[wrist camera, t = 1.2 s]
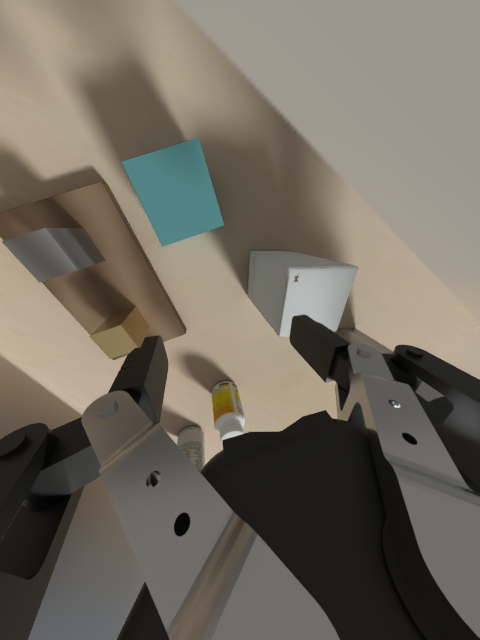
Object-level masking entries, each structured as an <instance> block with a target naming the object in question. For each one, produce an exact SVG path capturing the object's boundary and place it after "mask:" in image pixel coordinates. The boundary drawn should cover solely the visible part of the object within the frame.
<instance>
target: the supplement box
mask: <svg viewBox="0 0 480 640" xmlns="http://www.w3.org/2000/svg"><path fill="white" fill-rule="evenodd" d="M357 270H358V267H357V266H354V265H350V264H347V263H343V262H338V261H334V260H329V259H324V258H320V257H315V256H311V255H306V254H302V253H298V252H293V251H250V263H249V281H248V298H249V299H250V300H251V301H252V303H253V304H254V305H255V306H256V308H257V309H258V310H259V312H260V313H261V314H262V315H263V317H264V318H265V319H266V321H267V322H268V323H269V324H270V326H271V327H272V328H273V330H274V331H275V332H276V333H277V335H278V336H279V337H284V336H290V330H291V322H292V318H293V316H297V315H304V314H305V315H307V316H309V317H310V318H312V319H313V320H314V321H316V322H319V323H321V324H323V325H324V326H326V327H327V328H328V329H330V330H332V331H333V332H334V331H337V329H338V326H339V323H340V320H341V317H342V314H343V311H344V308H345V305H346V302H347V299H348V296H349V293H350V290H351V287H352V284H353V281H354V279H355V276H356V273H357Z"/></svg>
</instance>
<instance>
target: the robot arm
mask: <svg viewBox="0 0 480 640" xmlns="http://www.w3.org/2000/svg"><path fill="white" fill-rule="evenodd" d="M290 342H291V345H292V346H293V347H294V348H295V349H296V350H297V352H298V353H299V354H300V355H301V356H302V357H303V358H304V359H305V360H306V362H307V363H308V364H309V365H310V366H311V367H312V368H313V369H314V370H315V372H316V373H317V374H318V375H319V376H320V377H321V378H322V379H323V380H324V382H325V383H326V382H330V381H334V380H335V381H336V385H335V394H336V405H337V419H332V418H331V417H330V415H329V414H328V413H327V411H326V410H325V411H321V412H318V413H314V414H311V415H307V416H304V417H302V418H300V419H299V420H297V421H296V422H295V423H293V424H292V425H290V426H289V427H287V428H286V429H284V430H283V431H280V432H249V433H245V434H242V435H238V436H235V437H231V438H228V439H224V440H222V442H223V450H222V451H221V452H219V453H218V454H216V455H215V456H214V457H213V458H212V459H211V460H210V461H209V462H208V463H207V464H206V465H205V466H204V467H203V469H202V470H201V471H200V472H199V471H198V469H197V468H196V467H195V466H194V465H193V464H192V462H191V461H190V460H189V459H188V458H187V457H186V455H185V454H184V453H183V452H182V451H181V449H180V448H179V447H178V446H177V445H176V444H175V442H174V441H173V440H172V439H171V438H170V437H169V435H168V434H167V433H166V432H165V431H164V430H163V428H162V427H161V426H160V425H159V424H158V423H159V422H160V416H161V410H162V403H163V397H164V391H165V385H166V379H167V373H168V358H167V354H166V351H165V347H164V344H163V340H162V337H161V336H160V335H158V336H151V337H145V338H144V340H143V343H142V345H141V347H139V348H135V349H134V350H132V351H131V352H130V353H129V354H128V355H127V357H126V359H125V361H124V364H123V365H122V367H121V370H120V371H119V373H118V375H117V377H116V378H115V380H114V382H113V384H112V386H111V388H110V390H109V392H108V394H105V395H103V396H101V397H100V398H98V399H97V400H95V401H94V402H93V403H92V404H90V405H89V406H88V408H87V409H86V410H85V411H84V413H83V415H82V417H80V418H78V419H76V420H74V421H72V422H70V423H67V424H65V425H63V426H60V427H58V428H56V429H53V430H50V429H49V428H48V427H47V426H46V425H45V424H42V423H37V424H31V425H28V426H25V427H22V428H20V429H18V430H16V431H14V432H12V433H10V434H8V435H7V436H5V437H4V438H2V439H1V440H0V542H1V543H0V640H28V638H29V635H30V632H31V629H32V627H33V624H34V621H35V618H36V616H37V613H38V611H39V608H40V605H41V602H42V600H43V597H44V594H45V591H46V589H47V586H48V583H49V580H50V578H51V575H52V572H53V570H54V567H55V564H56V562H57V559H58V556H59V553H60V551H61V548H62V545H63V543H64V540H65V537H66V534H67V532H68V529H69V526H70V524H71V521H72V518H73V515H74V513H75V510H76V507H77V505H78V502H79V499H80V496H81V494H82V491H83V488H84V486H85V485H86V484H88V483H90V482H91V481H93V480H95V479H96V478H98V477H100V476H101V478H102V480H103V483H104V485H105V487H106V490H107V492H108V495H109V497H110V500H111V502H112V504H113V507H114V509H115V511H116V514H117V516H118V518H119V520H120V523H121V525H122V528H123V530H124V532H125V535H126V537H127V539H128V542H129V544H130V547H131V549H132V551H133V554H134V556H135V558H136V560H137V563H138V565H139V568H140V570H141V572H142V575H143V577H144V579H145V582H144V584H143V587H142V589H141V591H140V593H139V595H138V597H137V599H136V601H135V603H134V605H133V607H132V609H131V611H130V613H129V615H128V617H127V619H126V622H125V624H124V626H123V628H122V630H121V632H120V634H119V636H118V638H117V640H480V380H479V379H477V378H475V377H473V376H471V375H470V374H468V373H466V372H464V371H462V370H460V369H458V368H456V367H454V366H453V365H451V364H449V363H447V362H445V361H443V360H441V359H439V358H437V357H436V356H434V355H432V354H430V353H428V352H426V351H424V350H422V349H420V348H417V347H413V346H409V345H398V346H396V347H395V349H394V351H391V350H390V349H388V348H386V347H385V346H383V345H382V344H380V343H378V342H377V341H375V340H374V339H372V338H370V337H369V336H367V335H366V334H364V333H362V332H361V331H359V330H357V329H354V330H350V329H340V330H337V331H335V332H333V331H332V330H330V329H328V328H327V327H326V326H324V325H323V324H321V323H319V322H316V321H314V320H313V319H312V318H310V317H309V316H307V315H305V314H304V315H297V316H293V318H292V322H291V330H290ZM21 505H22V506H21ZM20 507H21V508H20ZM19 508H20V509H19ZM18 510H19V511H18ZM17 512H18V513H17ZM16 514H17V515H16ZM15 515H16V516H15ZM14 517H15V518H14ZM13 519H14V520H13ZM12 521H13V522H12ZM11 522H12V523H11ZM10 524H11V525H10ZM9 526H10V527H9ZM8 527H9V529H8ZM7 529H8V530H7ZM6 531H7V532H6ZM5 533H6V534H5ZM4 535H5V536H4ZM3 536H4V538H3ZM2 538H3V539H2ZM1 540H2V541H1Z"/></svg>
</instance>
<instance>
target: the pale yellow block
mask: <svg viewBox="0 0 480 640" xmlns="http://www.w3.org/2000/svg"><path fill="white" fill-rule="evenodd" d="M149 328H150V326H149V324H148V323H147V321H146V320H145V319H144V317H143V316H142V314H141V313H140V311H139V310H138V308H137V307H136V306H135V307H132V308H130V309H127V310H124V311H121V312H118V313H115V314H113V315H111V316H110V317H109V318H108V319H107V320H105V321H104V322H103V323H102V324H101V325H100V326H99V327H98V328H97V329H96V330H95V331H94V332H93V333H92V334H91V335H90V337H91V339H92V340H93V341H94V342H95V343H96V344H97V345H98V346H99V347H100V348H101V349H102V350H103V352H104V353H105V354H106V355H107V356H108V357H109V358H110V359H112V358H115V357H118V356H120V355H123V354H126V353H129V352H131V351H132V350H134V349H135V348H139V347H140V346H141V344H142V342H143V340H144V338H145V336H146V334H147V332H148V330H149Z"/></svg>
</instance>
